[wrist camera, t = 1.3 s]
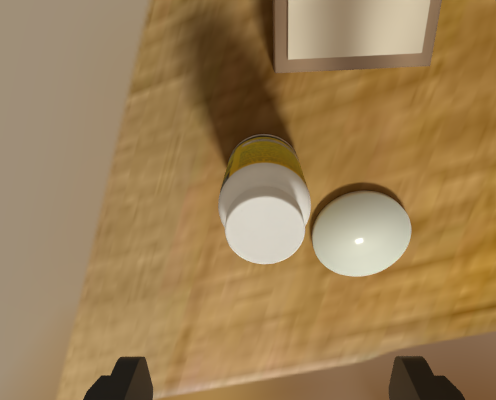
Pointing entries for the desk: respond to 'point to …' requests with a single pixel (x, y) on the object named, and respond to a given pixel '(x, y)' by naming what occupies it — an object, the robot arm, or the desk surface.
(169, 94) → the desk surface
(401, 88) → the desk surface
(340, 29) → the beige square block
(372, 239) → the pale white disc
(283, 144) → the pill bottle
